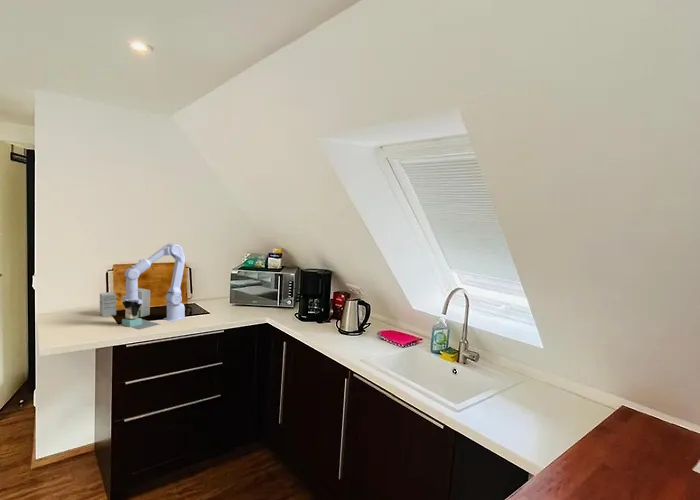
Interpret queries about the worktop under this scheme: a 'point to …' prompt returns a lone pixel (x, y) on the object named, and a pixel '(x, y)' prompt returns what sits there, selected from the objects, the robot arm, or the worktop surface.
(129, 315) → the maple block
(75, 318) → the worktop surface
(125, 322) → the plinth
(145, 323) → the mat
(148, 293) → the skincare box
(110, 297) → the supplement box
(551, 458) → the worktop surface
